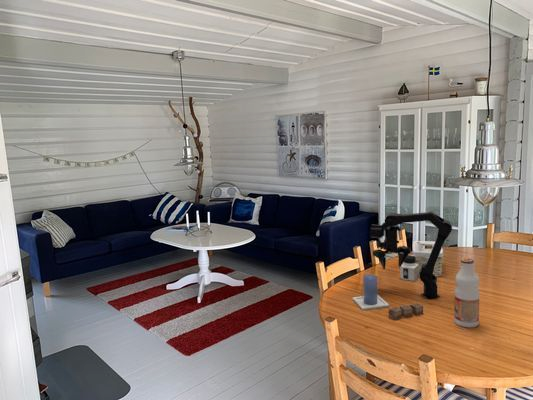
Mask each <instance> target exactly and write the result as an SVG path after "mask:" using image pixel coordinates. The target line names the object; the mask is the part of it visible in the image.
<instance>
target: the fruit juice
mask: <svg viewBox="0 0 533 400" xmlns="http://www.w3.org/2000/svg"><path fill="white" fill-rule="evenodd" d="M460 264H461V265H460V269H459V271H458V272H457V273H456V275H455V277H454V282H455V288H454V302H453V303H454V306H453V307H454V309H453V311H454V313H453V315H454V317H453V318H454V319H453V320H454V323H455V324H457V325H458V326H460V327H462V328H463V327H464V328H469V329H470V328H476V327H478V325H479V323H480V290H479V284H480V278H479V275H478V274H477V273H476V271H475V269H474V264H475V260H474V258H469V257H462V258H461V259H460Z"/></svg>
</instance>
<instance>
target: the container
mask: <svg viewBox="0 0 533 400" xmlns="http://www.w3.org/2000/svg"><path fill="white" fill-rule="evenodd" d="M418 278H420V275H419V267H418V264H416V257H415V256H413V254H408V255H407V256H406V258H405V260H404V261H403V263H402V265H401V267H400V279H401V280H404V281H405V280H406V281H411V282H415V281H417V279H418Z"/></svg>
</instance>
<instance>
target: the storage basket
mask: <svg viewBox="0 0 533 400" xmlns="http://www.w3.org/2000/svg"><path fill="white" fill-rule="evenodd" d="M435 241H436V240H435ZM435 241H434V240H413V241H412V255H413V256H415V257H416V264H418V267H419V271H420V269H421V267H422V264H426V263H427V261H428V259H429V256H430V254H431V251H432V249H433V246H434V244H435ZM423 246H425V247H426V246H430V247H431V246H432V247H431V248H423ZM443 257H444V250H443V247H442V248H441V251H440V253H439V256H438V258H437V261H436V263H435V266H434V271H433V275H435V276H436V277H441V276H442V275H443V274H442V271H443V264H442V263H443ZM419 276H420V274H419Z"/></svg>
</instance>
